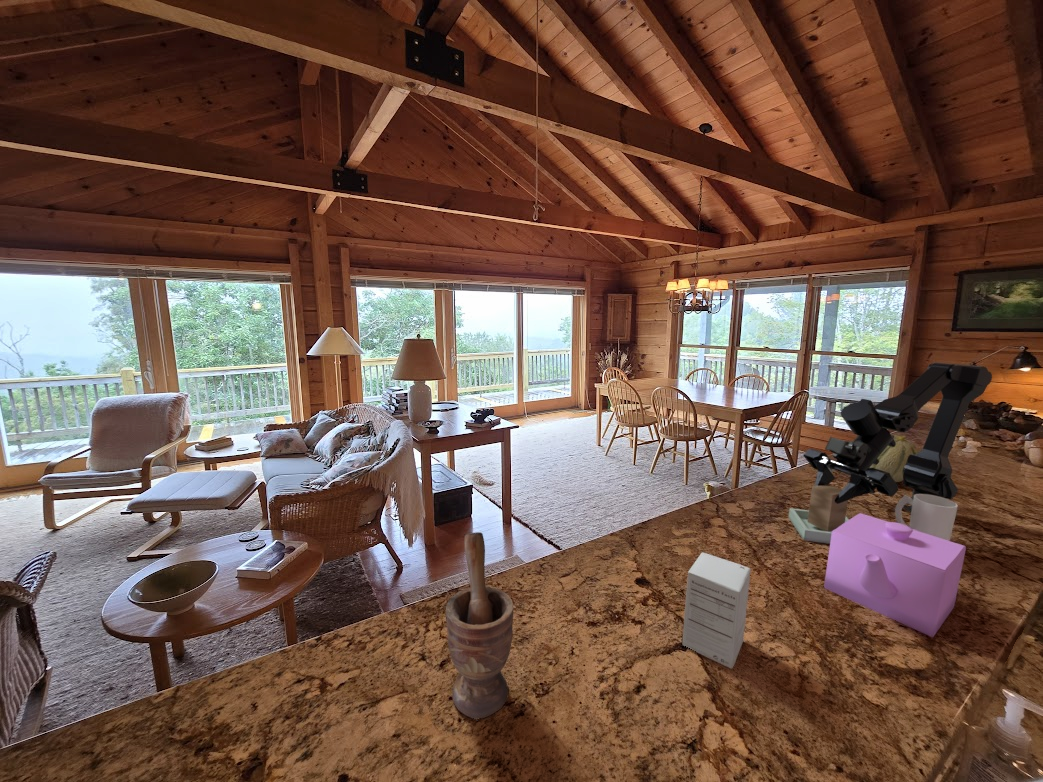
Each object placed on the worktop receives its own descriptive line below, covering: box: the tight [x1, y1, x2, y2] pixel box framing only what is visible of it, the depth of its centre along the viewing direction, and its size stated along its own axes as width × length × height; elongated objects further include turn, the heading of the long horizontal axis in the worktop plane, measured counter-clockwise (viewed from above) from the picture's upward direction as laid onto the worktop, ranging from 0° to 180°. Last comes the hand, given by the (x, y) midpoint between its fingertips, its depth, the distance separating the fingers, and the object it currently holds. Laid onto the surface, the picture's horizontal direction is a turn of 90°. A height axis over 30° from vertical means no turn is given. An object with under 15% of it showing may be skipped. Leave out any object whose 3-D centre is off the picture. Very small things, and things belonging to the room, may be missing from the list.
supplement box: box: [682, 551, 752, 669], centre depth 65 cm, size 7×7×13 cm
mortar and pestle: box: [445, 531, 514, 720], centre depth 57 cm, size 12×9×20 cm
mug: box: [894, 494, 959, 541], centre depth 93 cm, size 10×7×12 cm, turn 18°
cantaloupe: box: [870, 433, 920, 483], centre depth 132 cm, size 15×15×15 cm
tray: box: [788, 507, 850, 545], centre depth 101 cm, size 12×12×2 cm
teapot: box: [823, 512, 967, 638], centre depth 76 cm, size 15×25×14 cm, turn 124°
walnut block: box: [808, 484, 849, 532], centre depth 100 cm, size 5×5×9 cm
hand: (824, 497), depth 99 cm, fingers closed on walnut block, 5 cm apart
